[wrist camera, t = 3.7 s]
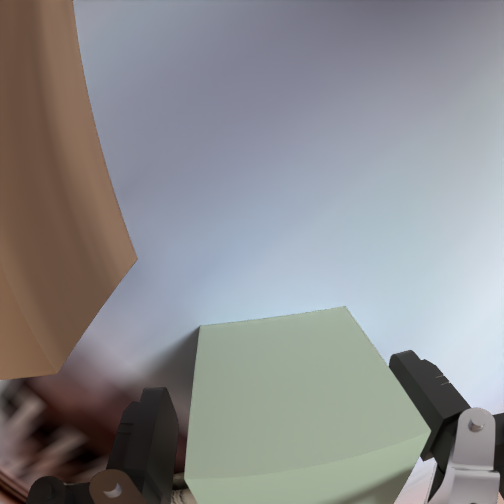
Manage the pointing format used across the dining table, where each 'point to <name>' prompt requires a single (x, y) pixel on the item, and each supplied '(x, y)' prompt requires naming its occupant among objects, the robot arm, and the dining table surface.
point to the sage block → (298, 415)
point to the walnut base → (51, 193)
